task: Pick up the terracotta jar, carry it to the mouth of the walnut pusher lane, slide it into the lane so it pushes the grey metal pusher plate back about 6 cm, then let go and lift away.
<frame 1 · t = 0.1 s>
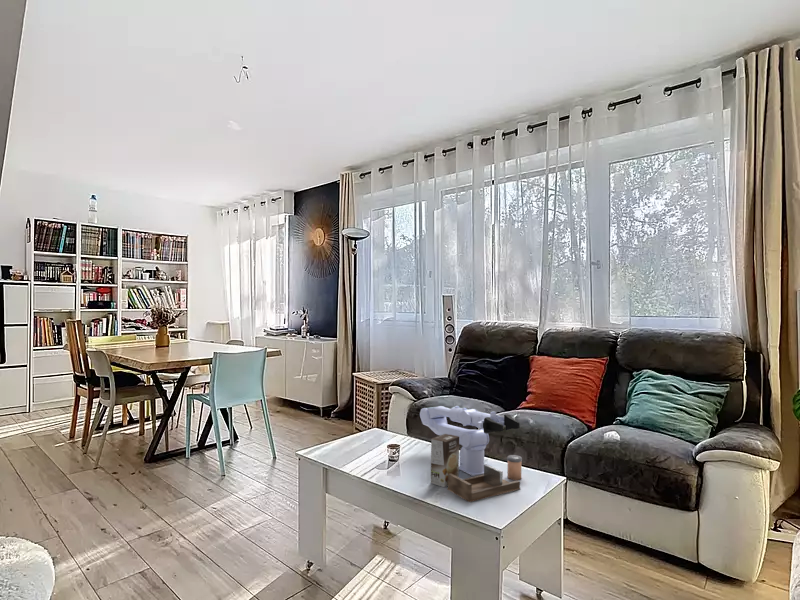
hand: (510, 426, 170), 22 cm above the table, tool horizontal, fingers open, 7 cm apart
pusher lane: (483, 489, 170), on the table
jar: (514, 477, 181), on the table
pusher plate: (492, 476, 172), point 4 cm above the table, slide at 0.0 cm
coffee box: (444, 482, 176), on the table
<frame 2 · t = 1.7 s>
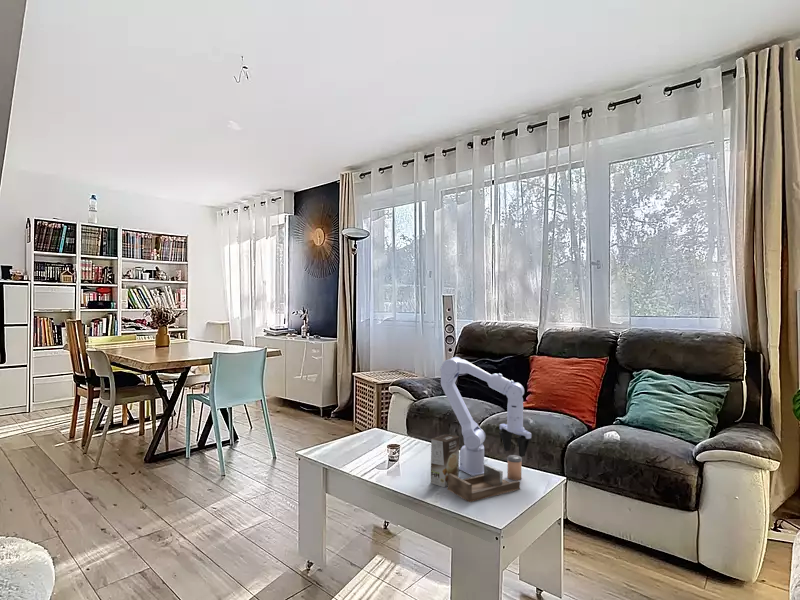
hand: (514, 453, 181), 9 cm above the table, tool pointing down, fingers open, 7 cm apart
nothing on the table moved.
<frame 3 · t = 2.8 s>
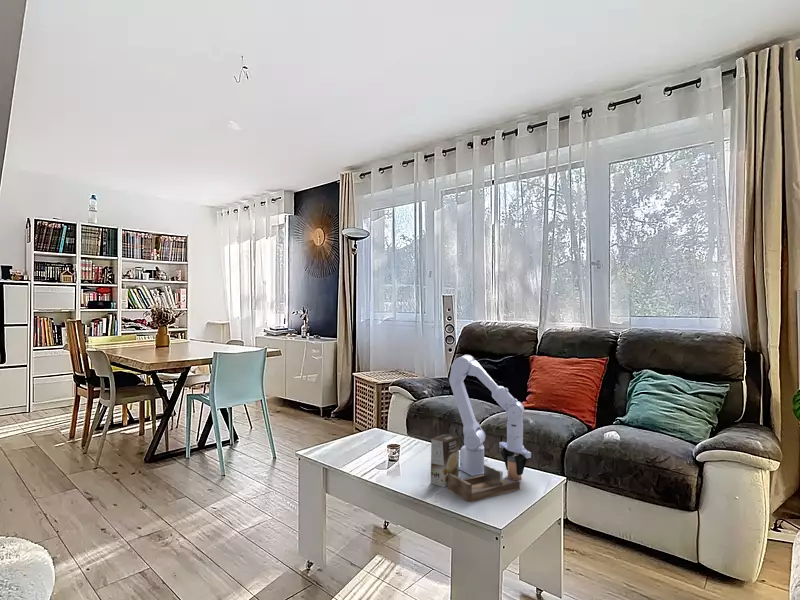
hand: (514, 472, 181), 2 cm above the table, tool pointing down, fingers closed on jar, 5 cm apart
jar: (514, 477, 181), on the table, touching gripper
everything else where it was.
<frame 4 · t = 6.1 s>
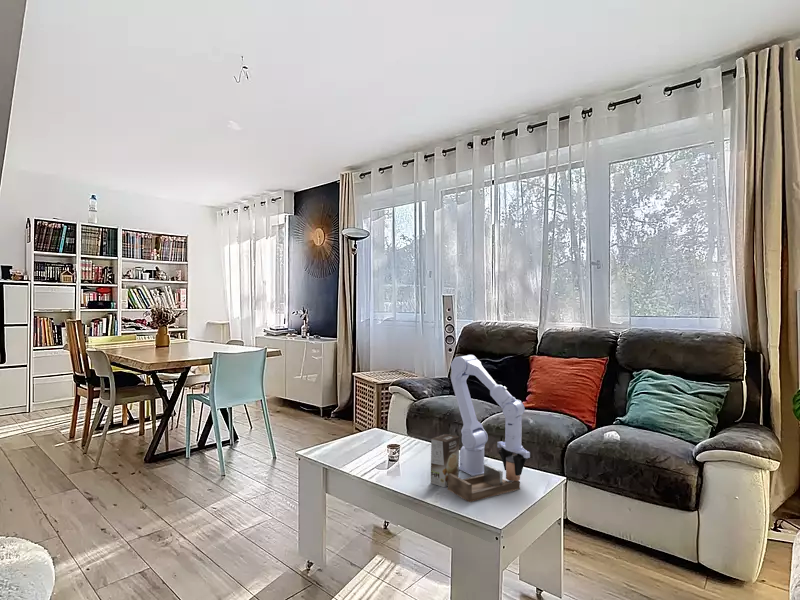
hand: (512, 472, 176), 3 cm above the table, tool pointing down, fingers closed on jar, 5 cm apart
jar: (512, 478, 176), point 1 cm above the table, touching gripper
everything else where it was.
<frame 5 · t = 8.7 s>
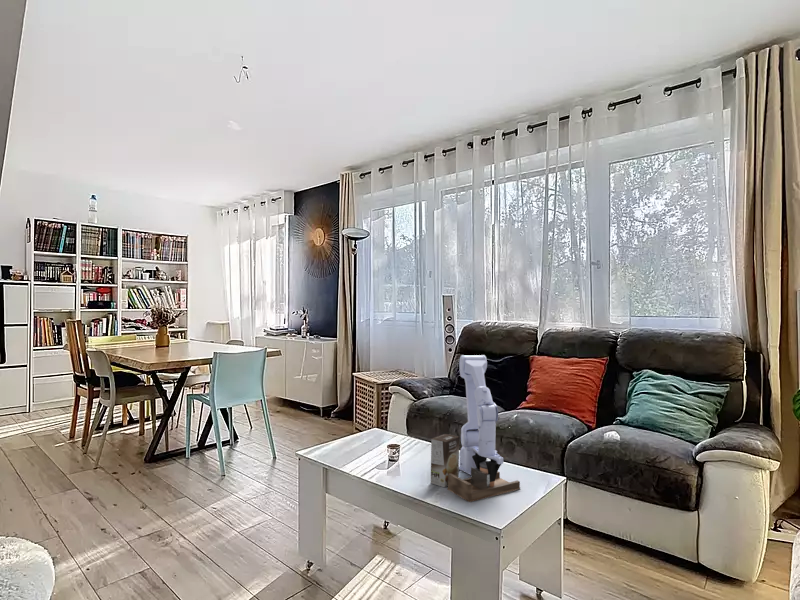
hand: (486, 478, 170), 4 cm above the table, tool pointing down, fingers closed on jar, 5 cm apart
jar: (487, 484, 170), point 1 cm above the table, touching gripper, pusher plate
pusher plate: (480, 479, 169), point 4 cm above the table, slide at 5.8 cm, touching jar
everything else where it was.
when the fingers open (3 cm above the table, at t = 9.3 s): jar stays where it is, resting on pusher lane.
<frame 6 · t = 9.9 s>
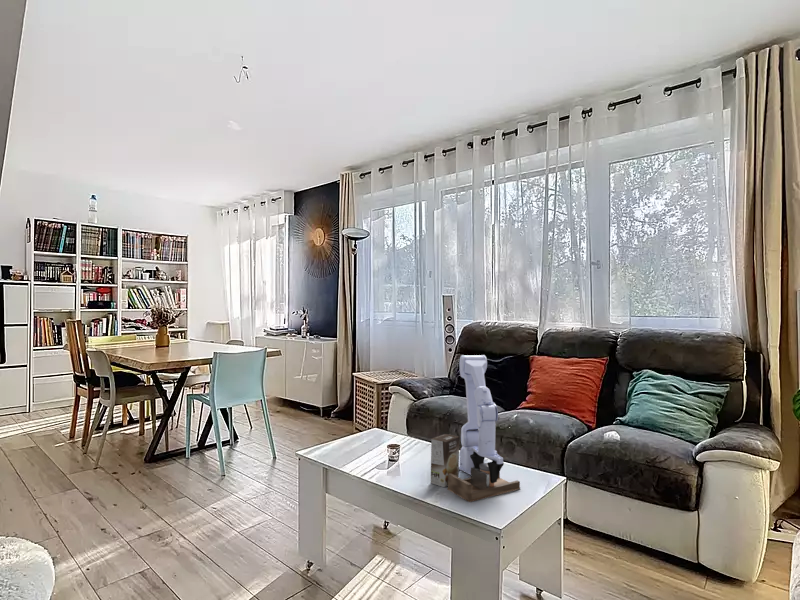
hand: (486, 478, 170), 4 cm above the table, tool pointing down, fingers open, 7 cm apart
jar: (486, 487, 170), point 1 cm above the table, touching pusher lane
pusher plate: (479, 479, 169), point 4 cm above the table, slide at 5.9 cm
everything else where it was.
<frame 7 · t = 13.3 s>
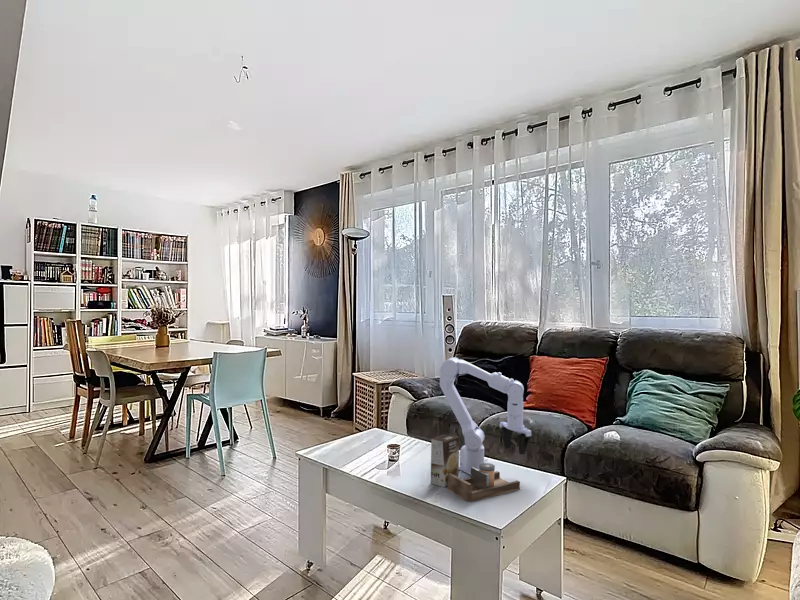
hand: (514, 450, 182), 9 cm above the table, tool pointing down, fingers open, 7 cm apart
nothing on the table moved.
at the end: jar 0.3 cm from the target spot, point 0.5 cm above the table; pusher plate slide at 5.9 cm; jar tilted 0° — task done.
